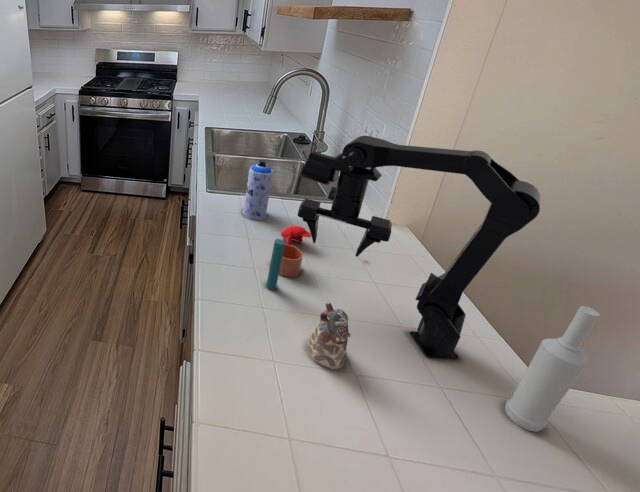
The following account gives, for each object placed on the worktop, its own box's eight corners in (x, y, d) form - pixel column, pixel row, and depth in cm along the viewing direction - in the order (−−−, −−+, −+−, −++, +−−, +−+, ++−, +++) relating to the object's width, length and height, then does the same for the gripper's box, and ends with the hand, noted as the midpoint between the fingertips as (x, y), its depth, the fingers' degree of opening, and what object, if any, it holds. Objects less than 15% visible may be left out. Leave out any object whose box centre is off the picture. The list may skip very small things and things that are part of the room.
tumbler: (302, 277, 103) (306, 260, 101) (275, 276, 103) (279, 259, 101) (294, 260, 109) (297, 244, 107) (268, 259, 110) (271, 243, 108)
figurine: (323, 372, 76) (336, 327, 72) (299, 344, 83) (310, 300, 78) (352, 364, 78) (367, 319, 74) (327, 337, 85) (339, 294, 80)
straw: (277, 290, 98) (286, 244, 93) (267, 289, 98) (276, 244, 93) (274, 283, 100) (283, 239, 95) (265, 283, 100) (273, 238, 95)
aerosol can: (238, 209, 136) (246, 157, 128) (259, 207, 137) (267, 156, 129) (249, 221, 129) (257, 166, 121) (270, 219, 130) (280, 165, 122)
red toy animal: (278, 245, 116) (282, 229, 114) (280, 235, 121) (283, 219, 119) (307, 252, 113) (311, 235, 110) (308, 242, 118) (311, 225, 116)
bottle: (502, 398, 72) (562, 294, 62) (541, 416, 69) (610, 309, 59) (504, 420, 68) (568, 312, 58) (545, 439, 65) (620, 329, 55)
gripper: (400, 188, 88) (381, 245, 94) (312, 169, 97) (301, 222, 103) (399, 209, 79) (379, 270, 85) (303, 185, 89) (291, 242, 95)
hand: (334, 248), depth 92 cm, fingers open, 9 cm apart
